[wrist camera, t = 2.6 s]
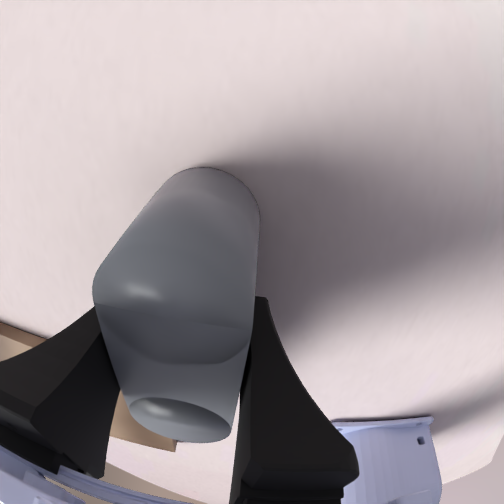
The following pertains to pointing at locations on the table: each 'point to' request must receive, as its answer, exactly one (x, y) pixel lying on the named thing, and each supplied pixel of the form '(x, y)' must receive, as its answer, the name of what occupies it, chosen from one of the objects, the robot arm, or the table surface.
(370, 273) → the table surface
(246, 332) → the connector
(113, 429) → the walnut board
